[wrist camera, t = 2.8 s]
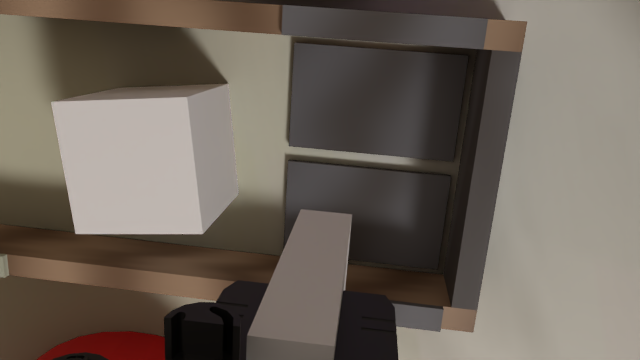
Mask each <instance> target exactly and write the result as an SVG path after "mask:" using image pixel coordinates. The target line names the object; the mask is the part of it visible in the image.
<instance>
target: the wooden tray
mask: <svg viewBox="0 0 640 360" xmlns="http://www.w3.org/2000/svg"><path fill="white" fill-rule="evenodd" d="M0 14H7V15H21V16H35V17H48V18H62V19H76V20H89V21H103V22H117V23H130V24H144V25H158V26H171V27H185V28H199V29H212V30H226V31H240V32H253V33H267V34H281V35H293V36H306V37H320V38H334V39H347V40H361V41H375V42H388V43H402V44H416V45H429V46H443V47H457V48H470V49H477V53H476V60H475V67H474V73H473V80H472V87H471V93H470V100H469V107H468V113H467V120H466V127H465V133H464V140H463V147H462V153H461V160H460V167H459V173H458V180H457V187H456V193H455V200H454V207H453V213H452V220H451V227H450V233H449V240H448V247H447V253H446V260H445V267H444V273H443V275H442V274H433V273H424V272H415V271H406V270H398V269H389V268H380V267H371V266H362V265H354V264H348V265H347V275H346V286H345V291H353V292H362V293H371V294H380V295H386V297H387V298H388V299H389V301H390V302H391V303H392V304H393V306H394V307H395V318H396V326H398V327H406V328H414V329H422V330H430V331H438V332H440V330H441V329H449V330H457V331H465V332H473V330H474V325H475V319H476V313H477V307H478V302H479V296H480V290H481V284H482V279H483V273H484V267H485V261H486V256H487V250H488V244H489V238H490V233H491V227H492V221H493V215H494V210H495V204H496V198H497V192H498V187H499V181H500V175H501V169H502V164H503V158H504V152H505V146H506V141H507V135H508V129H509V123H510V118H511V112H512V106H513V100H514V95H515V89H516V83H517V77H518V72H519V66H520V60H521V54H522V49H523V43H524V37H525V31H526V25H527V22H524V21H509V20H495V19H484V18H469V17H454V16H440V15H425V14H410V13H395V12H381V11H366V10H351V9H336V8H321V7H307V6H292V5H273V4H258V3H244V2H229V1H214V0H0ZM467 63H468V56H467V55H454V54H440V53H427V52H413V51H400V50H387V49H373V48H360V47H346V46H333V45H319V44H306V43H294V61H293V80H292V99H291V118H290V137H289V146H293V147H303V148H314V149H325V150H335V151H346V152H357V153H367V154H378V155H389V156H400V157H410V158H421V159H432V160H442V161H453V159H454V152H455V145H456V139H457V132H458V125H459V118H460V111H461V104H462V97H463V91H464V84H465V77H466V70H467ZM450 180H451V176H450V175H443V174H433V173H422V172H412V171H402V170H391V169H381V168H370V167H360V166H349V165H339V164H329V163H318V162H308V161H297V160H289V161H288V175H287V193H286V212H285V231H284V248H285V245H286V243H287V241H288V238H289V236H290V234H291V231H292V229H293V227H294V224H295V222H296V220H297V217H298V215H299V213H300V210H301V209H304V210H314V211H324V212H334V213H344V214H352V221H351V232H350V243H349V254H348V260H357V261H366V262H375V263H383V264H392V265H401V266H410V267H419V268H428V269H436V270H437V269H438V262H439V255H440V248H441V241H442V235H443V228H444V221H445V214H446V207H447V200H448V193H449V187H450ZM280 257H281V256H275V255H266V254H257V253H248V252H239V251H231V250H222V249H213V248H204V247H196V246H187V245H178V244H169V243H160V242H152V241H143V240H134V239H125V238H116V237H108V236H99V235H90V234H76V233H73V232H64V231H55V230H46V229H37V228H29V227H20V226H11V225H2V224H0V277H3V278H6V277H7V276H9V275H12V276H20V277H28V278H36V279H44V280H52V281H60V282H68V283H77V284H85V285H93V286H101V287H109V288H117V289H125V290H133V291H141V292H149V293H158V294H166V295H174V296H182V297H190V298H198V299H206V300H214V301H217V299H218V298H219V296H220V294H221V293H222V291H223V289H225V288H226V287H228V286H229V285H231V284H233V283H234V282H236V281H237V280H242V281H251V282H260V283H268V284H269V283H270V280H271V278H272V276H273V273H274V271H275V269H276V266H277V264H278V262H279V259H280Z"/></svg>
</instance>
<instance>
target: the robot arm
mask: <svg viewBox="0 0 640 360" xmlns="http://www.w3.org/2000/svg"><path fill="white" fill-rule="evenodd" d="M351 221H352V214H344V213H334V212H324V211H314V210H304V209H301V210H300V213H299V215H298V217H297V220H296V222H295V224H294V227H293V229H292V231H291V234H290V236H289V238H288V241H287V243H286V245H285V248H284V250H283V252H282V255H281V257H280V259H279V262H278V264H277V266H276V269H275V271H274V273H273V276H272V278H271V280H270V283H269V284H268V283H260V282H251V281H242V280H237V281H236V282H234V283H233V284H231V285H229V286H228V287H226V288H225V289H223V291H222V293H221V294H220V296H219V298H218V299H217V301H216V303H214V302H198V303H193V304H187V305H184V306H181V307H179V308H177V309H174V310H172V311H171V312H170V313H169V314H168V315H167V316H165V317H164V335H165V360H398V348H397V334H396V318H395V307H394V306H393V304H392V303H391V302H390V301H389V299H388V298H387V297H386V295H380V294H371V293H362V292H353V291H345V286H346V275H347V265H348V254H349V243H350V232H351ZM51 360H109V359H107V358H105V357H103V356H101V355H100V354H93V353H87V352H84V353H72V354H67V355H63V356H60V357H57V358H53V359H51Z"/></svg>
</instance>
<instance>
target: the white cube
mask: <svg viewBox="0 0 640 360" xmlns="http://www.w3.org/2000/svg"><path fill="white" fill-rule="evenodd" d="M51 104H52V109H53V115H54V120H55V125H56V131H57V136H58V142H59V147H60V152H61V158H62V163H63V169H64V174H65V179H66V185H67V190H68V196H69V201H70V206H71V212H72V217H73V222H74V228H75V233H76V234H203V233H204V232H205V231H206V230H207V229H208V228H209V227H210V226H211V224H212V223H213V222H214V221H215V220H216V219H217V218H218V217H219V216H220V214H221V213H222V212H223V211H224V210H225V209H226V208H227V207H228V206H229V204H230V203H231V202H232V201H233V200H234V199H235V198H236V197H237V195H238V194H239V191H238V180H237V169H236V159H235V148H234V137H233V126H232V116H231V105H230V94H229V84H204V85H177V86H150V87H124V88H115V89H110V90H106V91H101V92H96V93H91V94H86V95H82V96H77V97H72V98H67V99H62V100H57V101H53V102H51Z"/></svg>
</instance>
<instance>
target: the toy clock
mask: <svg viewBox="0 0 640 360" xmlns="http://www.w3.org/2000/svg"><path fill="white" fill-rule="evenodd" d="M84 352H87V353H93V354H100V355H101V356H103V357H105V358H107V359H109V360H165V337H162V336H158V335H152V334H145V333H138V332H131V331H126V332H101V333H96V334H90V335H85V336H80V337H77V338H75V339H72V340H70V341H67V342H65V343H62V344H60V345H57V346H55V347H54V348H52V349H51V350H49V351H48V352H46V353H45V354H43V355H42V356H40V357H39V358H38V359H37V360H51V359H53V358H57V357H60V356H63V355H67V354H72V353H84Z"/></svg>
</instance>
